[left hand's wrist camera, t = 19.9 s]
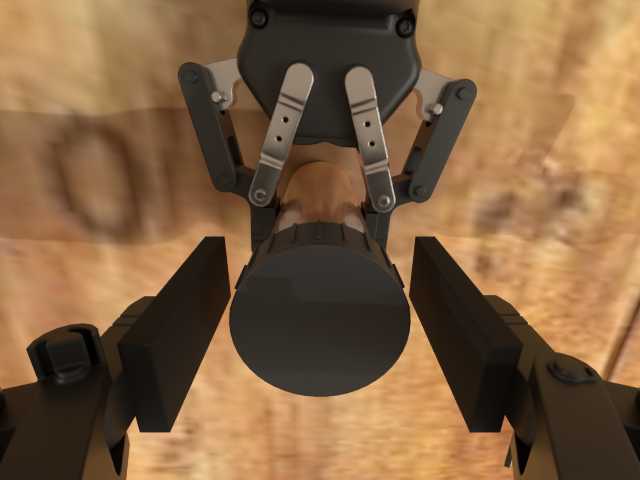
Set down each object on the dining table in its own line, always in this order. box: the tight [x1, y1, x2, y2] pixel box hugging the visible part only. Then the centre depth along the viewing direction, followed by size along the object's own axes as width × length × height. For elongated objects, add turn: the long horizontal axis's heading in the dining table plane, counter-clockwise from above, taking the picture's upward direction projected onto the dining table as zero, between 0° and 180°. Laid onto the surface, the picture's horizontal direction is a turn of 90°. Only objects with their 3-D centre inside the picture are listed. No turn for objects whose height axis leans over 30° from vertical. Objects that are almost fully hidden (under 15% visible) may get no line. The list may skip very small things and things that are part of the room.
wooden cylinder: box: [269, 161, 371, 238], centre depth 18 cm, size 5×5×15 cm
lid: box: [229, 220, 411, 397], centre depth 11 cm, size 6×6×2 cm
